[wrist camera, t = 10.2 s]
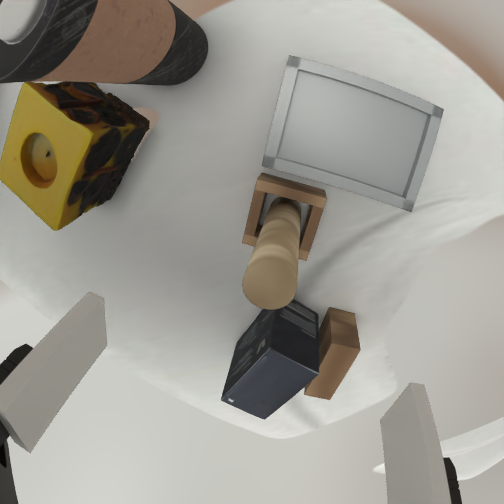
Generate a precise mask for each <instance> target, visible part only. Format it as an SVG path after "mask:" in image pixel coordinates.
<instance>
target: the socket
mask: <svg viewBox="0 0 504 504" xmlns="http://www.w3.org/2000/svg"><path fill="white" fill-rule="evenodd" d="M267 193H270V194H274V195H278V196H281V197H285V198H289V199H292V200H296V201H299V202H303V203H306V204H310V207H309V210H308V214H307V217H306V220H305V224H304V227H303V230H302V233H301V236H300V241H299V258H298V259H302V260H305V261H307V258H308V255H309V252H310V249H311V246H312V243H313V240H314V237H315V234H316V231H317V228H318V225H319V221H320V218H321V215H322V212H323V209H324V206H325V203H326V199H327V198H326V194H325V190H322V189H319V188H315V187H312V186H308V185H305V184H301V183H298V182H294V181H291V180H287V179H283V178H280V177H276V176H272V175H268V174H265V173H261V175H260V176H259V177H258V179H257V182H256V186H255V191H254V195H253V199H252V203H251V207H250V211H249V216H248V220H247V224H246V228H245V232H244V237H243V241H242V243H244V244H248V245H251V246H255V245H256V243H257V240H258V237H259V235H260V232H261V229H262V227H263V226H260V225H259V222H260V218H261V214H262V210H263V206H264V202H265V198H266V194H267Z"/></svg>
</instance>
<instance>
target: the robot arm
mask: <svg viewBox="0 0 504 504" xmlns="http://www.w3.org/2000/svg"><path fill="white" fill-rule="evenodd" d="M106 346H107V336H106V323H105V307H104V298H103V297H101V296H98V295H96V294H93V293H91V292H89V293H88V294H87V295H86V296H85V297H84V298H83V299H81V300H80V301H79V302H78V303H77V304H76V305H75V306H74V307H73V308H72V309H71V310H70V311H69V312H68V313H67V314H66V315H65V316H64V317H63V318H62V319H61V320H60V321H59V322H58V323H57V324H56V325H55V326H54V327H53V328H52V330H51V331H50V332H49V333H48V334H47V335H46V336H45V337H44V338H43V339H42V340H41V341H40V342H39V343H38V344H37V345H36V346H35V347H34V348H32V347H31V346H29V345H27V344H24V345H22V346H21V347H18V348H16V349H15V350H14V351H13V352H12V353H11V354H10V355H9V356H8V357H7V359H6V360H4V361H3V362H2V363H1V364H0V504H18V500H17V496H16V491H15V486H14V481H13V475H12V469H11V463H10V456H9V448H8V443H7V438H8V437H9V436H11V437H12V439H13V440H14V442H15V443H16V444H18V445H19V446H21V447H22V448H24V449H25V450H26V451H28V452H29V453H31V451H32V450H33V448H34V447H35V445H36V444H37V442H38V441H39V439H40V438H41V436H42V435H43V433H44V432H45V430H46V429H47V427H48V426H49V425H50V423H51V422H52V420H53V418H54V417H55V416H56V415H57V413H58V412H59V410H60V409H61V407H62V406H63V405H64V403H65V402H66V400H67V399H68V398H69V396H70V395H71V393H72V392H73V391H74V389H75V388H76V386H77V385H78V384H79V382H80V381H81V379H82V378H83V377H84V375H85V374H86V373H87V371H88V370H89V369H90V367H91V366H92V364H93V363H94V362H95V361H96V359H97V358H98V357H99V355H100V354H101V353H102V351H103V350H104V349H105V347H106ZM380 423H381V431H382V440H383V449H384V459H385V471H386V483H387V498H388V504H462V501H461V495H460V490H459V489H458V488H459V484H458V481H457V474H456V470H455V467H454V465H453V463H452V461H451V460H450V458H443V456H442V451H441V447H440V442H439V438H438V434H437V430H436V426H435V422H434V419H433V414H432V411H431V407H430V403H429V400H428V396H427V393H426V389H425V386H424V385H423V384H417V383H409V385H408V386H407V387H406V389H405V390H404V391H403V393H402V394H401V395H400V396H399V398H398V399H397V400H396V401H395V403H394V404H393V405H392V406H391V407H390V409H389V410H388V411H387V412H386V413H385V415H384V416H383V417H382V418H381V420H380Z"/></svg>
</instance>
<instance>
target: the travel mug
mask: <svg viewBox="0 0 504 504" xmlns="http://www.w3.org/2000/svg"><path fill="white" fill-rule="evenodd" d="M207 50H208V44H207V38H206V35H205V33H204V31H203V30H202V28H201V27H200V26H199V25H198V24H197V23H196V22H195V21H193V20H192V19H191V18H190V17H188V16H187V15H186V14H185V13H184V12H183V11H181V10H180V9H179V8H177V7H176V6H175V5H174V4H173V3H171V2H170V1H169V0H0V83H12V82H36V81H71V82H97V83H113V84H146V85H175V84H179V83H182V82H184V81H186V80H188V79H189V78H191V77H192V76H193V75H195V74H196V73H197V72H198V70H199V69H200V68H201V66H202V65H203V63H204V61H205V59H206V55H207Z"/></svg>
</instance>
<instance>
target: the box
mask: <svg viewBox="0 0 504 504" xmlns="http://www.w3.org/2000/svg"><path fill="white" fill-rule="evenodd" d="M318 339H319V337H318V314H316V313H315V312H313V311H311V310H310V309H308V308H307V307H305V306H303V305H301V304H300V303H298V302H296V301H295V300H292V301H291V302H290V303H289V304H287V305H286V306H284V307H282V308H279V309H273V310H269V309H264V310H262V312H261V314H259V316H258V317H257V318H256V320H255V321H254V322H253V323H252V325H251V326H250V327H249V329H248V330H247V331H246V332H245V333H244V334H243V336H242V337H241V338H240V340H239V341H238V342H237V344H236V348H235V351H234V355H233V358H232V362H231V365H230V369H229V372H228V376H227V379H226V383H225V386H224V390H223V393H222V397H221V401H223V402H225V403H228V404H230V405H232V406H234V407H236V408H239V409H241V410H243V411H245V412H247V413H250V414H252V415H254V416H257V417H259V418H262V419H266V418H267V417H269V416H270V415H271V414H272V413H274V412H275V411H276V410H277V409H279V408H280V407H281V406H282V405H283V404H285V403H286V402H287V401H288V400H290V399H291V398H292V397H293V396H294V395H296V394H297V393H298V392H299V391H300V390H301V389H303V388H304V387H305V386H306V385H307V384H309V383H310V382H311V381H312V380H313V379H314V378H315V377H316V376H318V375H319V340H318Z"/></svg>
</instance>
